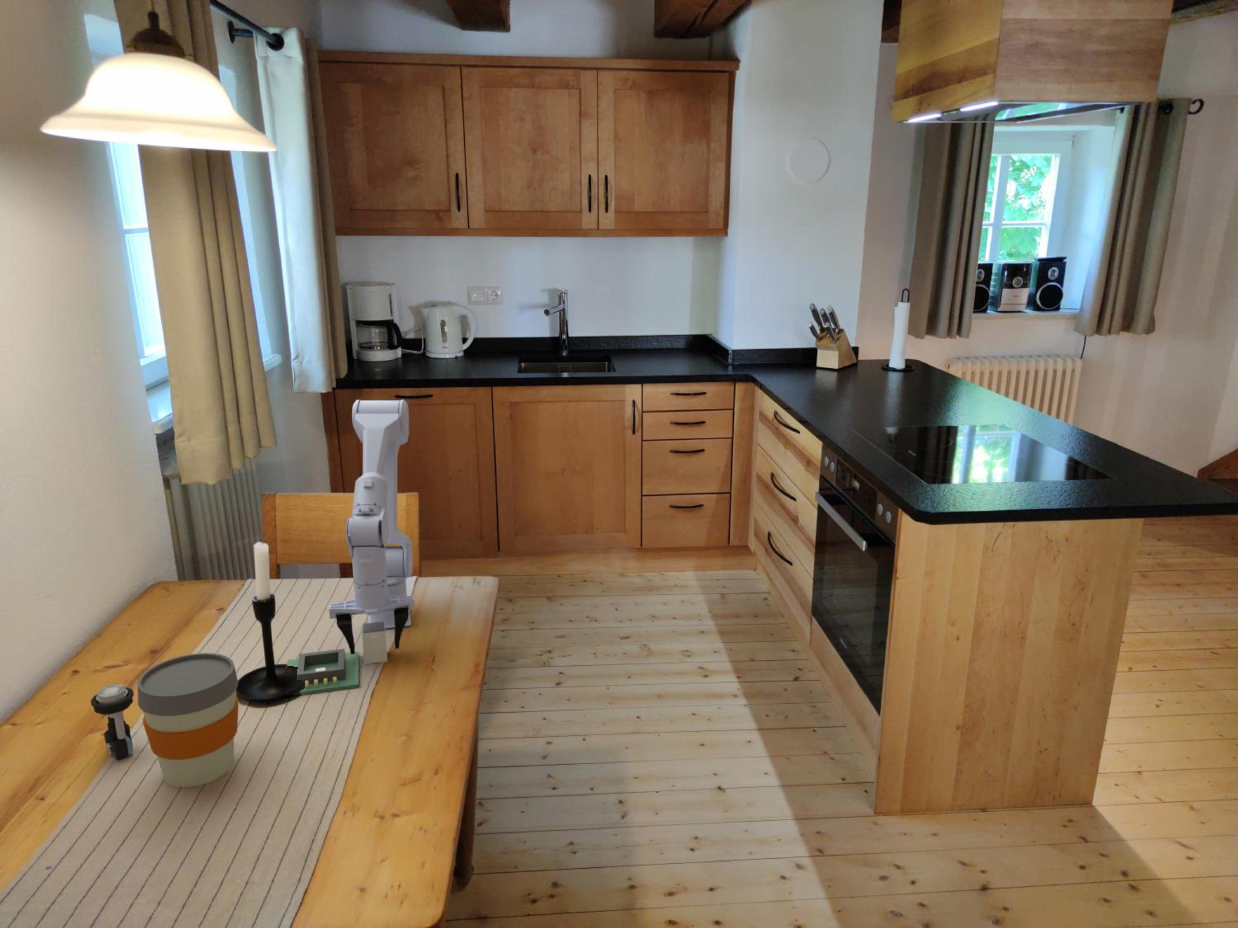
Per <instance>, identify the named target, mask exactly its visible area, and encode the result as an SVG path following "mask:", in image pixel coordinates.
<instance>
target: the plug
mask: <svg viewBox="0 0 1238 928" xmlns="http://www.w3.org/2000/svg"><path fill="white" fill-rule="evenodd" d="M386 635H387V633H386V629H385V622H384V621H382V622H373V623H368V622H365V623H362V624H361V636H362V637H361V638H362V650H363V664H364V665H371V664H378V663H379V664H380V663H386V662H387V663H388V648H387V636H386Z"/></svg>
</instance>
